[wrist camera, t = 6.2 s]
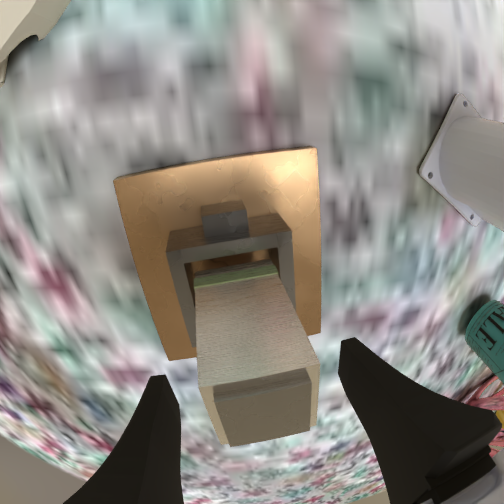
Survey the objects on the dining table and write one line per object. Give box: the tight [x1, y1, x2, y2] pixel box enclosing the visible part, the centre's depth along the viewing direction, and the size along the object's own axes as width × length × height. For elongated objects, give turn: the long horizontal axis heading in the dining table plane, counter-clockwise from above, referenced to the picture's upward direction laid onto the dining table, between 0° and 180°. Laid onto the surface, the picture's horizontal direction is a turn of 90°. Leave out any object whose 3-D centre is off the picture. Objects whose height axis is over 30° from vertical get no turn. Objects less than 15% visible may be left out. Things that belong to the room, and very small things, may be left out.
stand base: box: [113, 146, 321, 361], centre depth 19 cm, size 14×12×4 cm
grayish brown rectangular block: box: [194, 259, 320, 447], centre depth 14 cm, size 4×4×8 cm
